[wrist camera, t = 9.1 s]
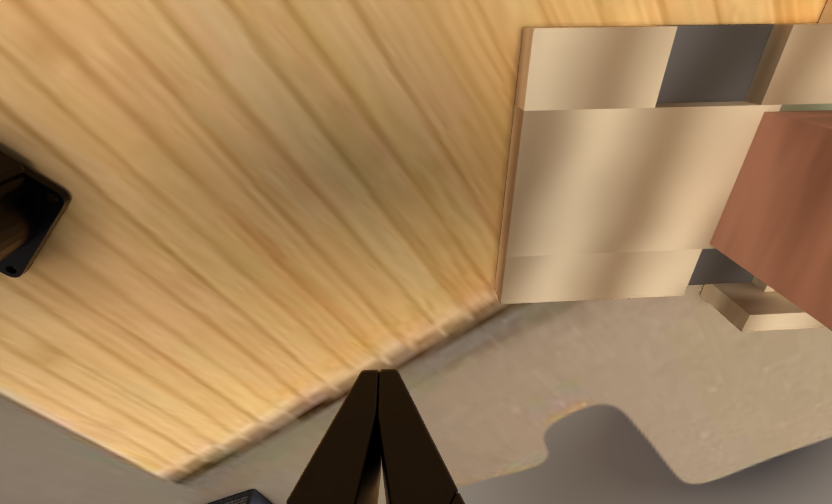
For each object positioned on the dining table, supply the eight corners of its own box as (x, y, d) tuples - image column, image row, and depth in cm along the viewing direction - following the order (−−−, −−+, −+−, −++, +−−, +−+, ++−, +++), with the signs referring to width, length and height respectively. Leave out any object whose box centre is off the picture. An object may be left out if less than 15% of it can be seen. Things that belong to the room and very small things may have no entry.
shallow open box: (492, 304, 25) (507, 343, 22) (526, -6, 17) (556, -10, 14) (871, 286, 26) (934, 321, 23) (1078, -12, 18) (1217, -17, 15)
